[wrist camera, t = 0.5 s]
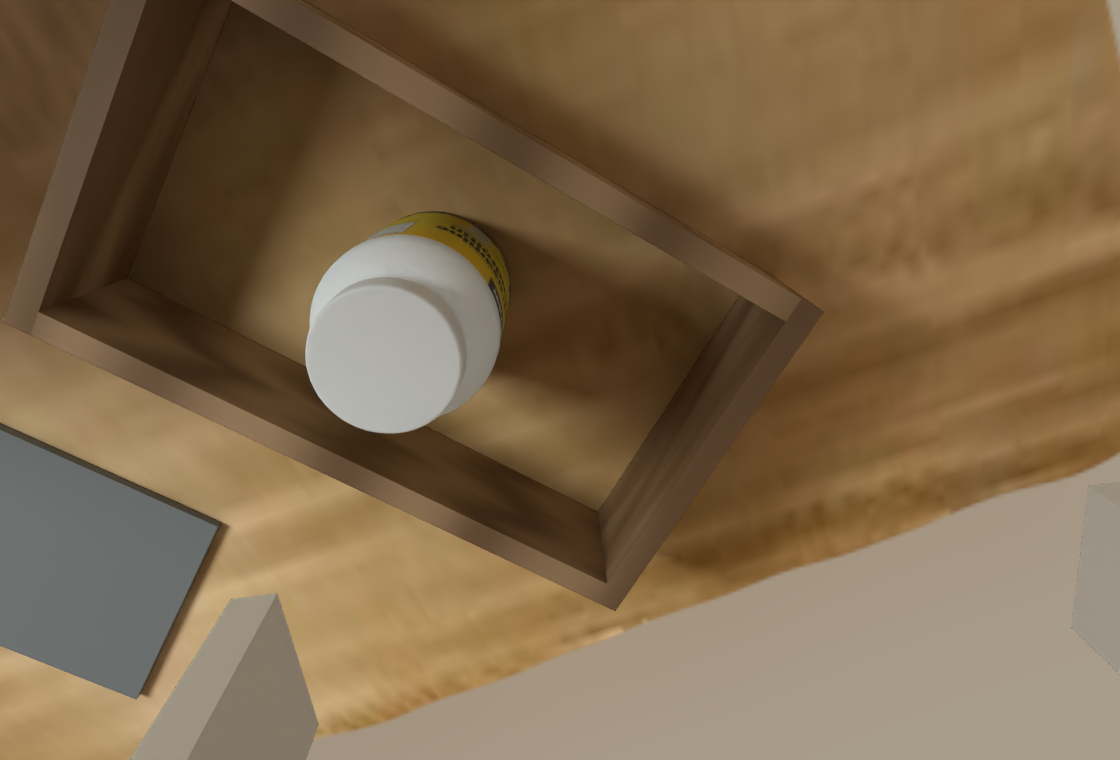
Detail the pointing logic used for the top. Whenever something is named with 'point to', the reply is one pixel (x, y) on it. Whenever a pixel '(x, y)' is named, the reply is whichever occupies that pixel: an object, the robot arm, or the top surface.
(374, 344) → the pill bottle
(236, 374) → the box frame
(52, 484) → the slate mat
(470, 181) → the top surface
